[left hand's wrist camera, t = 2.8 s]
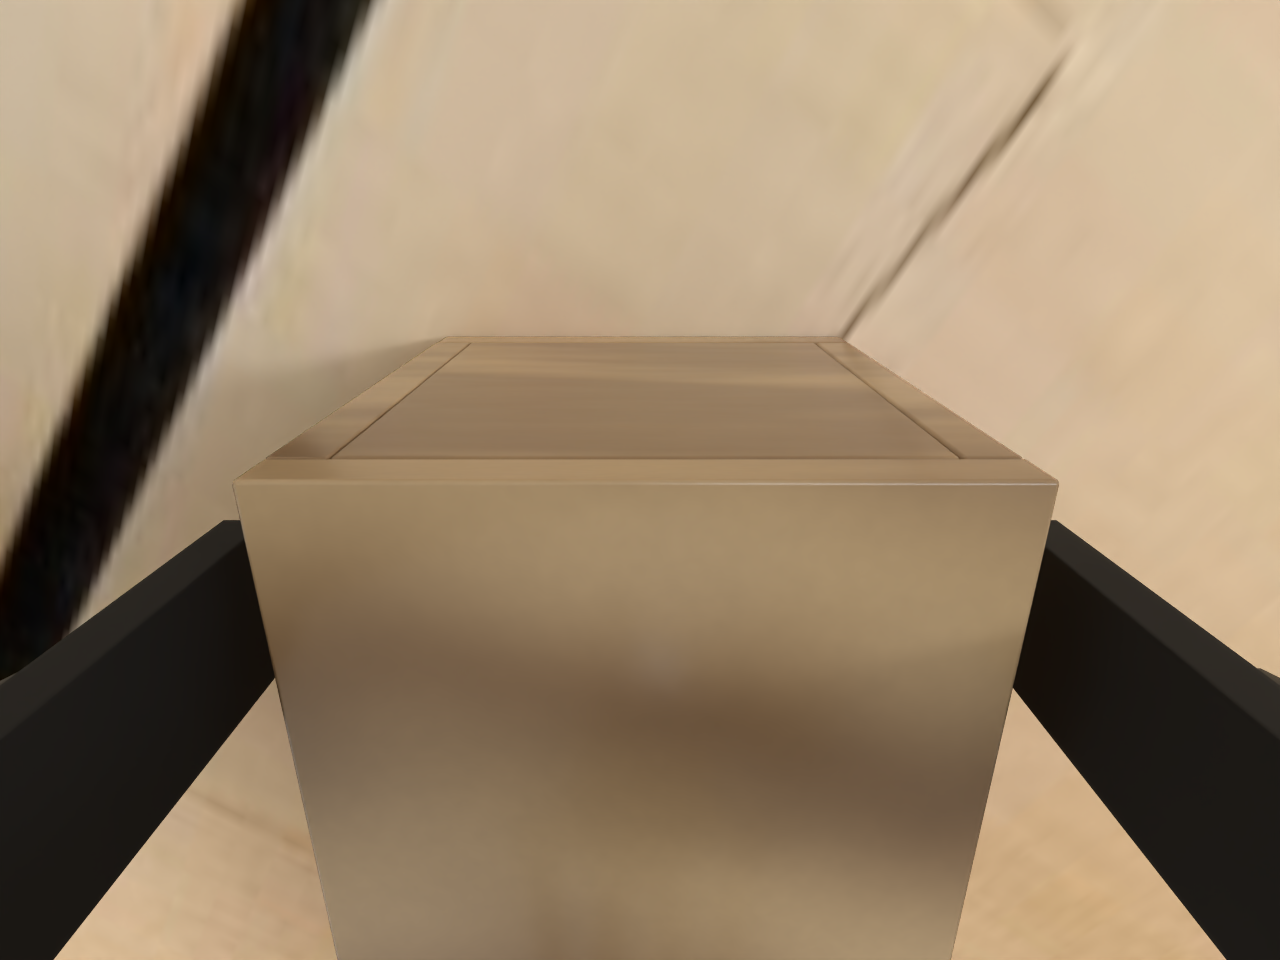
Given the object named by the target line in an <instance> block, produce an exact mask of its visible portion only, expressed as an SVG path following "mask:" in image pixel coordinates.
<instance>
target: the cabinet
mask: <svg viewBox="0 0 1280 960" xmlns="http://www.w3.org/2000/svg"><path fill="white" fill-rule="evenodd" d="M1058 487H1059V483H1058V480H1057V479H1055V478H1053V477H1052V476H1050V475H1049V474H1047V473H1046V472H1044V471H1043V470H1041V469H1040V468H1038V467H1037V466H1035V465H1034V464H1032V463H1031V462H1029V461H1027V460H1025V459H1022V457H1021V456H1019V455H1017V454H1016V453H1014V452H1013V451H1011V450H1010V449H1008V448H1007V447H1005V446H1004V445H1002V444H1001V443H999V442H998V441H996V440H995V439H993V438H992V437H990V436H989V435H987V434H986V433H984V432H983V431H981V430H980V429H978V428H977V427H975V426H974V425H972V424H970V423H969V422H967V421H966V420H964V419H963V418H961V417H960V416H958V415H957V414H955V413H954V412H952V411H951V410H949V409H948V408H946V407H945V406H943V405H942V404H940V403H939V402H937V401H936V400H934V399H933V398H931V397H930V396H928V395H926V394H925V393H923V392H922V391H920V390H919V389H917V388H916V387H914V386H913V385H911V384H910V383H908V382H907V381H905V380H904V379H902V378H901V377H899V376H898V375H896V374H895V373H893V372H892V371H890V370H889V369H887V368H886V367H884V366H883V365H881V364H879V363H878V362H876V361H875V360H873V359H872V358H870V357H869V356H867V355H866V354H864V353H863V352H861V351H860V350H858V349H857V348H855V347H854V346H852V345H851V344H849V343H847V342H846V341H844V340H843V339H841V338H839V337H446V338H444V339H443V340H441V341H440V342H438V343H435V344H434V345H432V346H431V347H429V348H428V349H426V350H425V351H424V352H422V353H421V354H419V355H418V356H416V357H415V358H413V359H412V360H410V361H409V362H407V363H406V364H404V365H403V366H401V367H400V368H398V369H397V370H395V371H394V372H392V373H391V374H389V375H388V376H387V377H385V378H384V379H382V380H381V381H379V382H378V383H376V384H375V385H373V386H372V387H370V388H369V389H367V390H366V391H364V392H363V393H361V394H360V395H358V396H357V397H355V398H354V399H352V400H351V401H350V402H348V403H347V404H345V405H344V406H342V407H341V408H339V409H338V410H336V411H335V412H333V413H332V414H330V415H329V416H327V417H326V418H324V419H323V420H321V421H320V422H318V423H317V424H315V425H314V426H313V427H311V428H310V429H308V430H307V431H305V432H304V433H302V434H301V435H299V436H298V437H296V438H295V439H293V440H292V441H290V442H289V443H287V444H286V445H284V446H283V447H281V448H280V449H278V450H277V451H276V452H274V453H273V454H271V455H270V456H268V457H267V458H266V460H263V461H262V462H260V463H259V464H257V465H256V466H254V467H253V468H251V469H250V470H248V471H247V472H245V473H244V474H242V475H241V476H239V477H238V478H236V479H235V480H234V481H233V490H234V494H235V499H236V503H237V508H238V512H239V517H240V521H241V526H242V530H243V535H244V539H245V544H246V548H247V553H248V557H249V562H250V566H251V571H252V575H253V580H254V584H255V589H256V593H257V598H258V602H259V607H260V611H261V616H262V620H263V625H264V629H265V634H266V638H267V643H268V647H269V652H270V656H271V661H272V665H273V670H274V675H275V679H276V684H277V688H278V693H279V697H280V702H281V706H282V711H283V715H284V720H285V724H286V729H287V733H288V738H289V742H290V747H291V751H292V756H293V760H294V765H295V769H296V774H297V778H298V783H299V787H300V792H301V796H302V801H303V805H304V810H305V814H306V819H307V823H308V828H309V832H310V837H311V841H312V846H313V850H314V855H315V859H316V864H317V868H318V873H319V877H320V882H321V887H322V891H323V896H324V900H325V905H326V909H327V914H328V918H329V923H330V927H331V932H332V936H333V941H334V945H335V950H336V954H337V959H338V960H951V956H952V952H953V947H954V943H955V939H956V934H957V930H958V925H959V921H960V917H961V912H962V908H963V904H964V899H965V895H966V890H967V886H968V882H969V877H970V873H971V868H972V864H973V860H974V855H975V851H976V846H977V842H978V838H979V833H980V829H981V825H982V820H983V816H984V811H985V807H986V803H987V798H988V794H989V789H990V785H991V781H992V776H993V772H994V767H995V763H996V759H997V754H998V750H999V746H1000V741H1001V737H1002V732H1003V728H1004V724H1005V719H1006V715H1007V710H1008V706H1009V702H1010V697H1011V693H1012V688H1013V684H1014V680H1015V675H1016V671H1017V667H1018V662H1019V658H1020V653H1021V649H1022V645H1023V640H1024V636H1025V631H1026V627H1027V623H1028V618H1029V614H1030V609H1031V605H1032V601H1033V596H1034V592H1035V588H1036V583H1037V579H1038V574H1039V570H1040V566H1041V561H1042V557H1043V552H1044V548H1045V544H1046V539H1047V535H1048V530H1049V526H1050V522H1051V517H1052V513H1053V509H1054V504H1055V500H1056V495H1057V491H1058Z"/></svg>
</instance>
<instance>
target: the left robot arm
mask: <svg viewBox="0 0 1280 960" xmlns="http://www.w3.org/2000/svg"><path fill="white" fill-rule="evenodd" d="M274 678H275V675H274V670H273V665H272V661H271V656H270V652H269V647H268V643H267V638H266V634H265V629H264V625H263V620H262V616H261V611H260V607H259V602H258V598H257V593H256V589H255V584H254V580H253V575H252V571H251V566H250V562H249V557H248V553H247V548H246V544H245V539H244V535H243V530H242V526H241V521H240V520H223V521H222V522H221V523H219V524H218V525H217V526H215V527H214V528H213V529H211V530H210V531H209V532H207V533H206V534H204V535H203V536H202V537H200V538H199V539H198V540H196V541H195V542H194V543H192V544H191V545H190V546H188V547H187V548H185V549H184V550H183V551H181V552H180V553H179V554H177V555H176V556H175V557H173V558H172V559H171V560H169V561H168V562H167V563H165V564H164V565H162V566H161V567H160V568H158V569H157V570H156V571H154V572H153V573H152V574H150V575H149V576H148V577H146V578H145V579H143V580H142V581H141V582H139V583H138V584H137V585H135V586H134V587H133V588H131V589H130V590H129V591H127V592H126V593H125V594H123V595H122V596H120V597H119V598H118V599H116V600H115V601H114V602H112V603H111V604H110V605H108V606H107V607H106V608H104V609H103V610H101V611H100V612H99V613H97V614H96V615H95V616H93V617H92V618H91V619H89V620H88V621H87V622H85V623H84V624H83V625H81V626H80V627H78V628H77V629H76V630H74V631H73V632H72V633H70V634H69V635H68V636H66V637H65V638H64V639H62V640H61V641H59V642H58V643H57V644H55V645H54V646H53V647H51V648H50V649H49V650H47V651H46V652H45V653H43V654H42V655H41V656H39V657H38V658H36V659H35V660H34V661H32V662H31V663H30V664H28V665H27V666H26V667H24V668H23V669H22V670H20V671H19V672H17V673H15V674H13V675H11V676H9V677H7V678H5V679H3V680H1V681H0V960H54V958H55V957H56V956H57V955H58V953H59V952H60V951H61V949H62V948H63V947H64V946H65V944H66V943H67V942H68V941H69V939H70V938H71V937H72V935H73V934H74V933H75V932H76V930H77V929H78V928H79V927H80V925H81V924H82V923H83V921H84V920H85V919H86V918H87V916H88V915H89V914H90V913H91V911H92V910H93V909H94V907H95V906H96V905H97V904H98V902H99V901H100V900H101V899H102V897H103V896H104V895H105V893H106V892H107V891H108V890H109V888H110V887H111V886H112V885H113V883H114V882H115V881H116V879H117V878H118V877H119V876H120V874H121V873H122V872H123V871H124V869H125V868H126V867H127V865H128V864H129V863H130V862H131V860H132V859H133V858H134V857H135V855H136V854H137V853H138V851H139V850H140V849H141V848H142V846H143V845H144V844H145V843H146V841H147V840H148V839H149V837H150V836H151V835H152V834H153V832H154V831H155V830H156V829H157V827H158V826H159V825H160V823H161V822H162V821H163V820H164V818H165V817H166V816H167V815H168V813H169V812H170V811H171V809H172V808H173V807H174V806H175V804H176V803H177V802H178V801H179V799H180V798H181V797H182V795H183V794H184V793H185V792H186V790H187V789H188V788H189V787H190V785H191V784H192V783H193V781H194V780H195V779H196V778H197V776H198V775H199V774H200V773H201V771H202V770H203V769H204V767H205V766H206V765H207V764H208V762H209V761H210V760H211V758H212V757H213V756H214V755H215V753H216V752H217V751H218V750H219V748H220V747H221V746H222V744H223V743H224V742H225V741H226V739H227V738H228V737H229V736H230V734H231V733H232V732H233V730H234V729H235V728H236V727H237V725H238V724H239V723H240V722H241V720H242V719H243V718H244V716H245V715H246V714H247V713H248V711H249V710H250V709H251V708H252V706H253V705H254V704H255V702H256V701H257V700H258V699H259V697H260V696H261V695H262V694H263V692H264V691H265V690H266V688H267V687H268V686H269V685H270V683H271V682H272V681H273V680H274ZM1013 688H1014V690H1015V691H1016V692H1017V694H1018V695H1019V696H1020V697H1021V699H1022V700H1023V701H1024V702H1025V704H1026V705H1027V706H1028V708H1029V709H1030V710H1031V711H1032V713H1033V714H1034V715H1035V716H1036V718H1037V719H1038V720H1039V722H1040V723H1041V724H1042V725H1043V727H1044V728H1045V729H1046V730H1047V732H1048V733H1049V734H1050V736H1051V737H1052V738H1053V739H1054V741H1055V742H1056V743H1057V744H1058V746H1059V747H1060V748H1061V750H1062V751H1063V752H1064V753H1065V755H1066V756H1067V757H1068V759H1069V760H1070V761H1071V762H1072V764H1073V765H1074V766H1075V767H1076V769H1077V770H1078V771H1079V773H1080V774H1081V775H1082V776H1083V778H1084V779H1085V780H1086V781H1087V783H1088V784H1089V785H1090V787H1091V788H1092V789H1093V790H1094V792H1095V793H1096V794H1097V795H1098V797H1099V798H1100V799H1101V801H1102V802H1103V803H1104V804H1105V806H1106V807H1107V808H1108V809H1109V811H1110V812H1111V813H1112V815H1113V816H1114V817H1115V818H1116V820H1117V821H1118V822H1119V823H1120V825H1121V826H1122V827H1123V829H1124V830H1125V831H1126V832H1127V834H1128V835H1129V836H1130V837H1131V839H1132V840H1133V841H1134V843H1135V844H1136V845H1137V846H1138V848H1139V849H1140V850H1141V851H1142V853H1143V854H1144V855H1145V857H1146V858H1147V859H1148V860H1149V862H1150V863H1151V864H1152V865H1153V867H1154V868H1155V869H1156V871H1157V872H1158V873H1159V874H1160V876H1161V877H1162V878H1163V879H1164V881H1165V882H1166V883H1167V885H1168V886H1169V887H1170V888H1171V890H1172V891H1173V892H1174V893H1175V895H1176V896H1177V897H1178V899H1179V900H1180V901H1181V902H1182V904H1183V905H1184V906H1185V907H1186V909H1187V910H1188V911H1189V913H1190V914H1191V915H1192V916H1193V918H1194V919H1195V920H1196V921H1197V923H1198V924H1199V925H1200V927H1201V928H1202V929H1203V930H1204V932H1205V933H1206V934H1207V935H1208V937H1209V938H1210V939H1211V941H1212V942H1213V943H1214V944H1215V946H1216V947H1217V948H1218V949H1219V951H1220V952H1221V953H1222V955H1223V956H1224V957H1225V958H1226V960H1280V678H1279V677H1277V676H1275V675H1273V674H1271V673H1269V672H1267V671H1265V670H1263V669H1261V668H1256V667H1254V666H1253V665H1252V664H1250V663H1249V662H1248V661H1246V660H1245V659H1244V658H1242V657H1241V656H1239V655H1238V654H1237V653H1235V652H1234V651H1233V650H1231V649H1230V648H1229V647H1227V646H1226V645H1225V644H1223V643H1222V642H1220V641H1219V640H1218V639H1216V638H1215V637H1214V636H1212V635H1211V634H1210V633H1208V632H1207V631H1206V630H1204V629H1203V628H1202V627H1200V626H1199V625H1197V624H1196V623H1195V622H1193V621H1192V620H1191V619H1189V618H1188V617H1187V616H1185V615H1184V614H1183V613H1181V612H1180V611H1179V610H1177V609H1176V608H1174V607H1173V606H1172V605H1170V604H1169V603H1168V602H1166V601H1165V600H1164V599H1162V598H1161V597H1160V596H1158V595H1157V594H1155V593H1154V592H1153V591H1151V590H1150V589H1149V588H1147V587H1146V586H1145V585H1143V584H1142V583H1141V582H1139V581H1138V580H1137V579H1135V578H1134V577H1132V576H1131V575H1130V574H1128V573H1127V572H1126V571H1124V570H1123V569H1122V568H1120V567H1119V566H1118V565H1116V564H1115V563H1113V562H1112V561H1111V560H1109V559H1108V558H1107V557H1105V556H1104V555H1103V554H1101V553H1100V552H1099V551H1097V550H1096V549H1095V548H1093V547H1092V546H1090V545H1089V544H1088V543H1086V542H1085V541H1084V540H1082V539H1081V538H1080V537H1078V536H1077V535H1076V534H1074V533H1073V532H1071V531H1070V530H1069V529H1067V528H1066V527H1065V526H1063V525H1062V524H1061V523H1059V522H1058V521H1057V520H1051V522H1050V526H1049V530H1048V535H1047V539H1046V544H1045V548H1044V552H1043V557H1042V561H1041V566H1040V570H1039V574H1038V579H1037V583H1036V588H1035V592H1034V596H1033V601H1032V605H1031V609H1030V614H1029V618H1028V623H1027V627H1026V631H1025V636H1024V640H1023V645H1022V649H1021V653H1020V658H1019V662H1018V667H1017V671H1016V675H1015V680H1014V684H1013Z"/></svg>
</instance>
